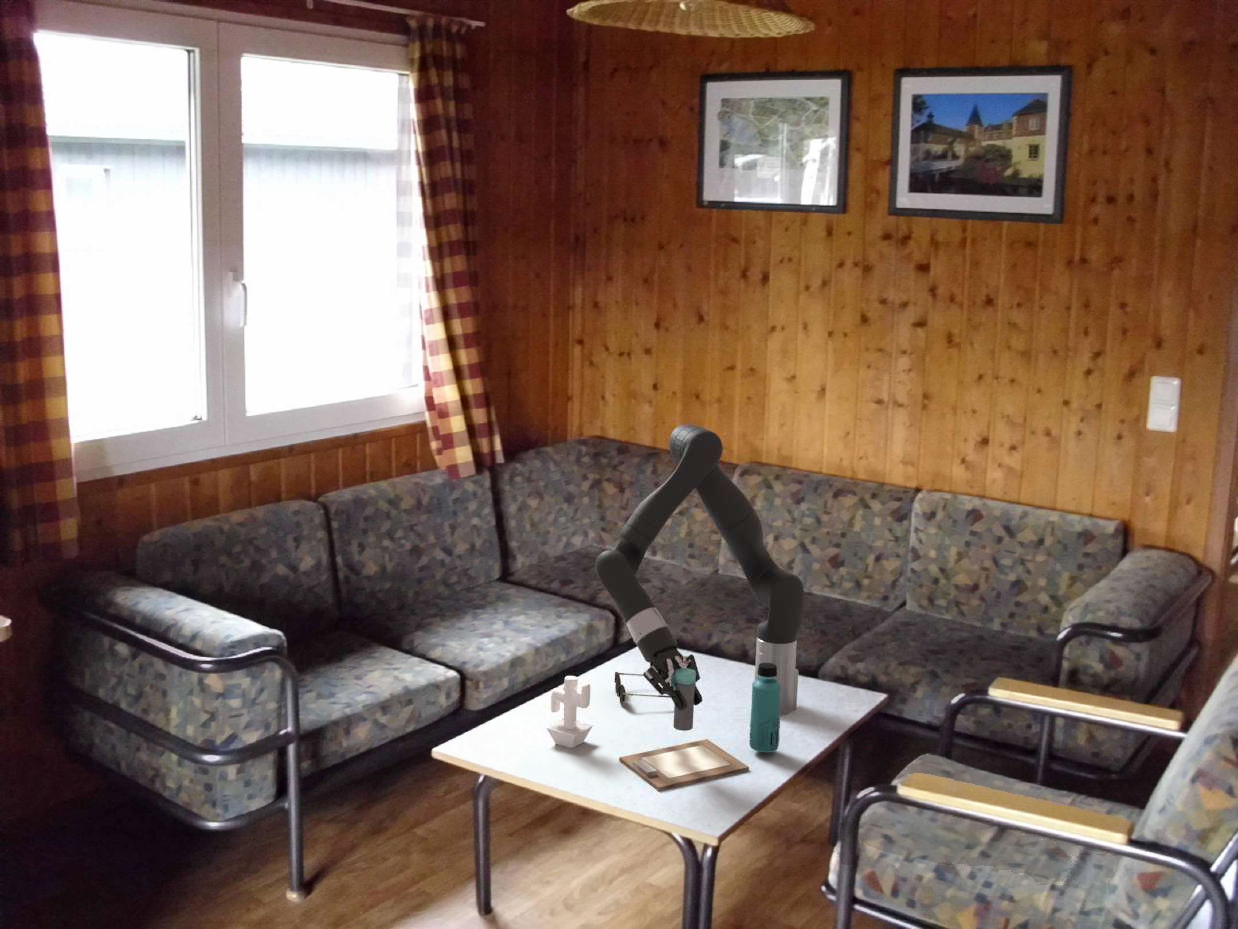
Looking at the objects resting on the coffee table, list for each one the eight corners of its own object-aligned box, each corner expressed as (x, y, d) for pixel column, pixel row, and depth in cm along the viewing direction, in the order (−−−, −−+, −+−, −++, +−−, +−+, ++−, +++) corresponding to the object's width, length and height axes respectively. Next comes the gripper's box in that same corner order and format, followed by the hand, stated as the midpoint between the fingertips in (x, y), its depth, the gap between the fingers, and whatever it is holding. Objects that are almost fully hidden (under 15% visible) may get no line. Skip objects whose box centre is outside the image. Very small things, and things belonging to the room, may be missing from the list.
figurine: (561, 732, 297) (562, 667, 294) (596, 742, 292) (598, 677, 289) (542, 742, 291) (543, 677, 288) (577, 753, 286) (579, 686, 283)
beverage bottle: (770, 762, 285) (775, 672, 281) (742, 754, 288) (747, 665, 284) (784, 751, 290) (788, 663, 286) (756, 744, 294) (760, 657, 290)
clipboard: (706, 742, 294) (707, 734, 293) (748, 770, 280) (749, 762, 280) (619, 761, 283) (619, 753, 283) (658, 791, 269) (658, 782, 269)
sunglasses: (613, 689, 324) (614, 670, 323) (678, 691, 327) (680, 672, 326) (621, 711, 311) (623, 691, 310) (689, 713, 313) (691, 693, 313)
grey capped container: (686, 721, 281) (688, 667, 279) (697, 728, 278) (699, 673, 275) (669, 725, 279) (671, 670, 277) (679, 732, 276) (682, 676, 273)
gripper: (637, 632, 275) (678, 706, 269) (684, 619, 285) (724, 689, 279) (618, 650, 279) (657, 723, 273) (665, 636, 289) (704, 706, 283)
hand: (691, 705), depth 276 cm, fingers closed on grey capped container, 4 cm apart
